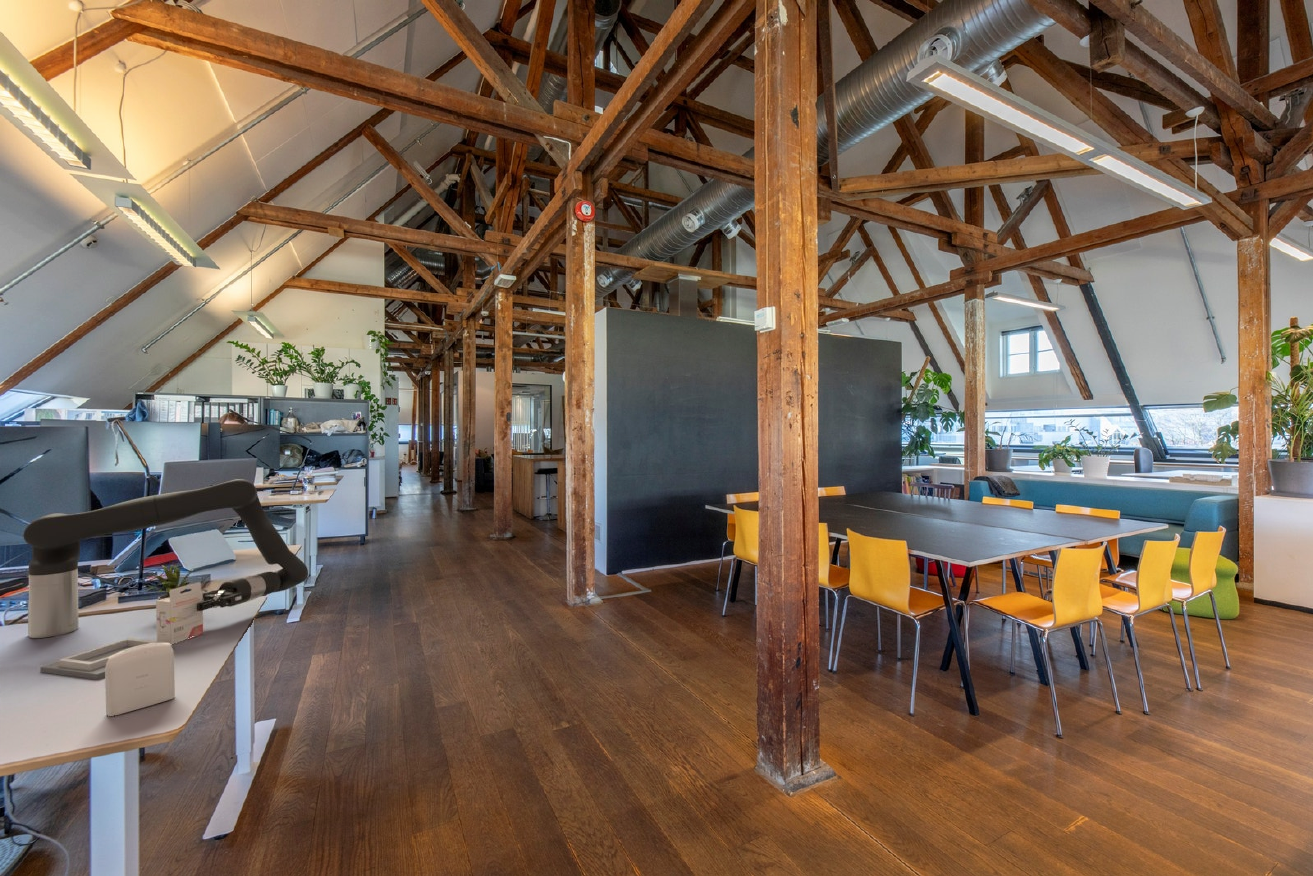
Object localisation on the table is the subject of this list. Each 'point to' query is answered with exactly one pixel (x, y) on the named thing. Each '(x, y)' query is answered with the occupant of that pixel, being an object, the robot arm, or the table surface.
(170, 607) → the ink cartridge box
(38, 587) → the robot arm
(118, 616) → the table surface
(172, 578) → the house plant
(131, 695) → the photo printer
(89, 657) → the refill dock
